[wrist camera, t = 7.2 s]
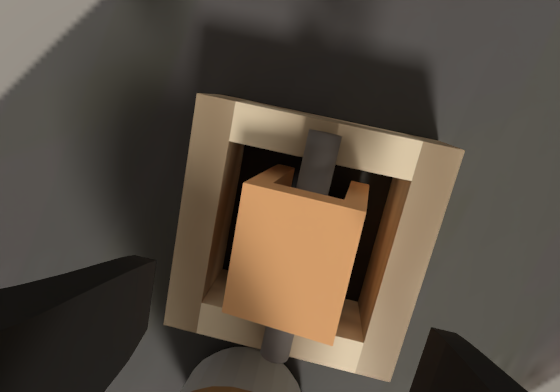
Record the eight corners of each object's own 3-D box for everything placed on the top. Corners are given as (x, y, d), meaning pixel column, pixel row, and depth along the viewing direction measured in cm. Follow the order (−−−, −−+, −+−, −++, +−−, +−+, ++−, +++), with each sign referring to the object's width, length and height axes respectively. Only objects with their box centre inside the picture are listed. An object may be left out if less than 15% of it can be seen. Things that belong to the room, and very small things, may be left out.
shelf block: (190, 288, 21) (151, 340, 16) (221, 94, 18) (185, 92, 14) (379, 334, 20) (394, 402, 16) (438, 140, 18) (477, 154, 13)
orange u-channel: (259, 262, 19) (221, 312, 15) (278, 163, 18) (243, 182, 13) (344, 286, 19) (332, 346, 14) (369, 184, 17) (366, 211, 13)
